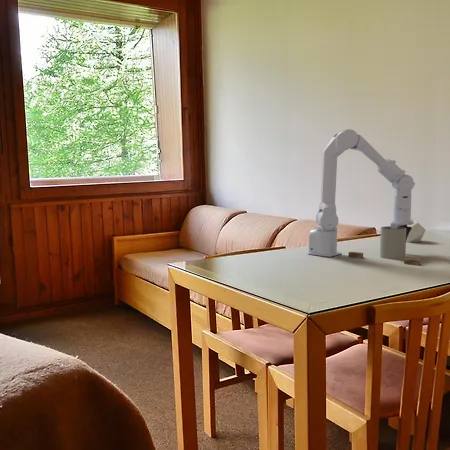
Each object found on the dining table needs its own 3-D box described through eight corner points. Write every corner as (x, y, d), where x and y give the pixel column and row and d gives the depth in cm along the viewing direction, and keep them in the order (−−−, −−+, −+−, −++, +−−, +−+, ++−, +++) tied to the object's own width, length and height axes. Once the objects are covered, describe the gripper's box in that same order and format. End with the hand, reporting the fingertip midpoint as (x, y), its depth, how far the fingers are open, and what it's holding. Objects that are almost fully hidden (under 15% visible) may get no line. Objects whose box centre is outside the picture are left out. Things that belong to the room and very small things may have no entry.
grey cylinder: (408, 255, 174) (409, 227, 173) (402, 259, 167) (403, 230, 166) (383, 253, 179) (384, 225, 178) (376, 257, 172) (377, 228, 171)
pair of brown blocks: (348, 256, 174) (348, 252, 174) (351, 255, 176) (351, 251, 176) (417, 265, 158) (418, 260, 158) (420, 264, 160) (420, 259, 160)
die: (424, 245, 199) (432, 224, 202) (404, 234, 198) (412, 213, 201) (412, 249, 207) (420, 229, 210) (393, 239, 206) (401, 218, 209)
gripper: (405, 211, 168) (404, 251, 170) (421, 207, 179) (420, 245, 181) (385, 209, 173) (384, 248, 175) (401, 206, 184) (400, 243, 186)
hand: (401, 246), depth 178 cm, fingers closed
